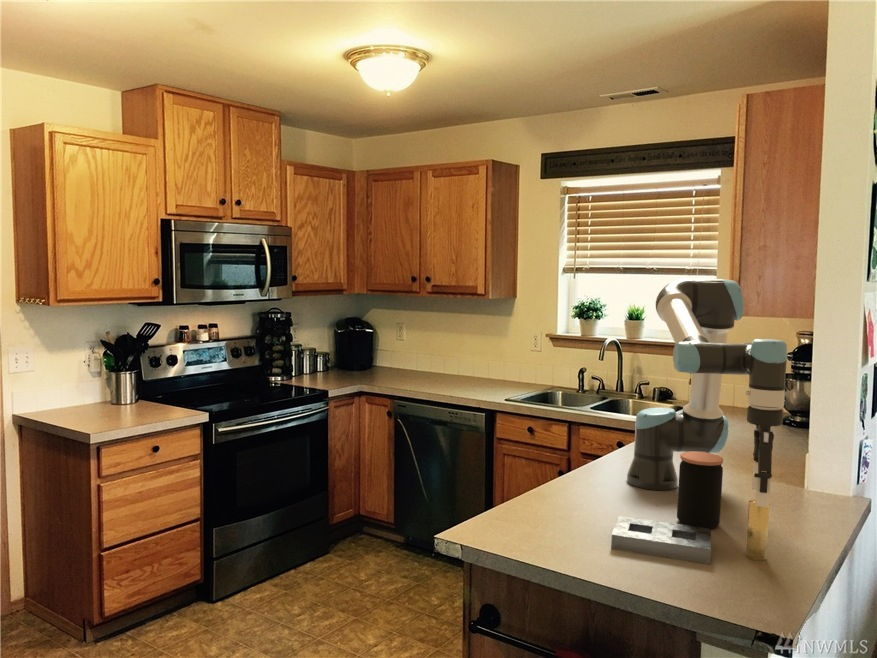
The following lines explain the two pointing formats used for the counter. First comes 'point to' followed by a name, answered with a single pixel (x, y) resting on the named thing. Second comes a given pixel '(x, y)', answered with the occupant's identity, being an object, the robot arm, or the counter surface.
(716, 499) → the coffee jar
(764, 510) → the yellow translucent cylinder
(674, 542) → the block
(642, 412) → the robot arm
